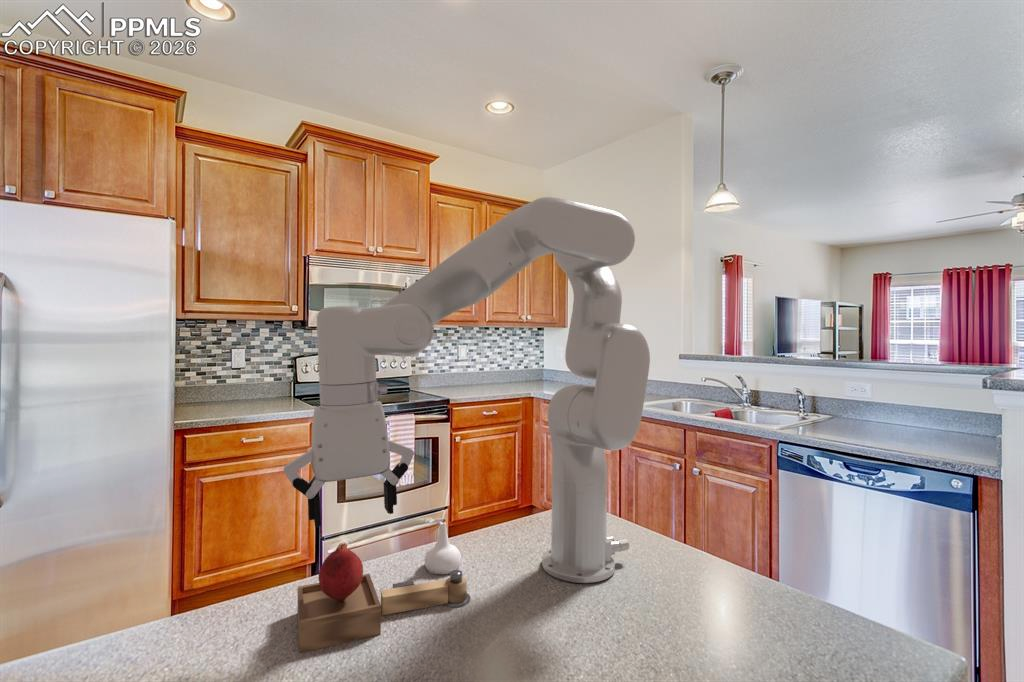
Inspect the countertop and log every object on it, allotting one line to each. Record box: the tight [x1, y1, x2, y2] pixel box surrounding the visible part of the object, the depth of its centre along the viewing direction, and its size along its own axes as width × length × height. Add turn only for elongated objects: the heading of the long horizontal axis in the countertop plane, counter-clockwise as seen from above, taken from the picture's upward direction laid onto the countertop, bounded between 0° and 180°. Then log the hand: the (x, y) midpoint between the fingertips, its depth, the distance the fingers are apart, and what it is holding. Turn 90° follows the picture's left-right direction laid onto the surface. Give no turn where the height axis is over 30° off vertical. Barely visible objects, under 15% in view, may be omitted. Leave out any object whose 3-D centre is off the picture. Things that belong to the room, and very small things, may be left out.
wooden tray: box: [296, 573, 382, 654], centre depth 69 cm, size 10×10×4 cm
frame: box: [392, 569, 471, 608], centre depth 75 cm, size 11×5×4 cm, turn 115°
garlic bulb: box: [424, 521, 462, 575], centre depth 87 cm, size 6×6×8 cm
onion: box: [318, 541, 364, 601], centre depth 69 cm, size 6×6×8 cm
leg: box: [380, 576, 468, 616], centre depth 74 cm, size 13×3×2 cm, turn 111°
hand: (354, 517), depth 70 cm, fingers open, 9 cm apart
